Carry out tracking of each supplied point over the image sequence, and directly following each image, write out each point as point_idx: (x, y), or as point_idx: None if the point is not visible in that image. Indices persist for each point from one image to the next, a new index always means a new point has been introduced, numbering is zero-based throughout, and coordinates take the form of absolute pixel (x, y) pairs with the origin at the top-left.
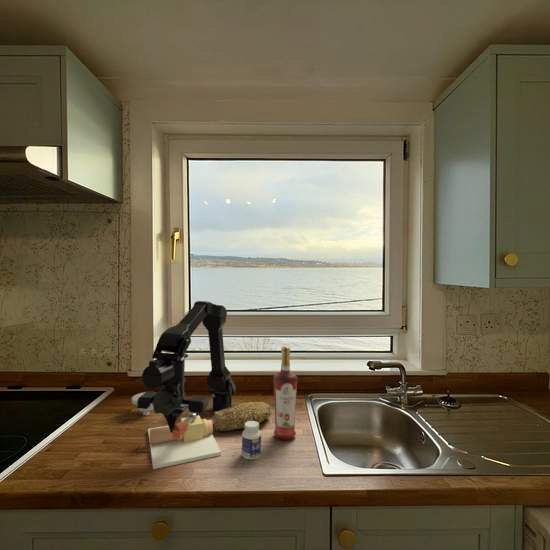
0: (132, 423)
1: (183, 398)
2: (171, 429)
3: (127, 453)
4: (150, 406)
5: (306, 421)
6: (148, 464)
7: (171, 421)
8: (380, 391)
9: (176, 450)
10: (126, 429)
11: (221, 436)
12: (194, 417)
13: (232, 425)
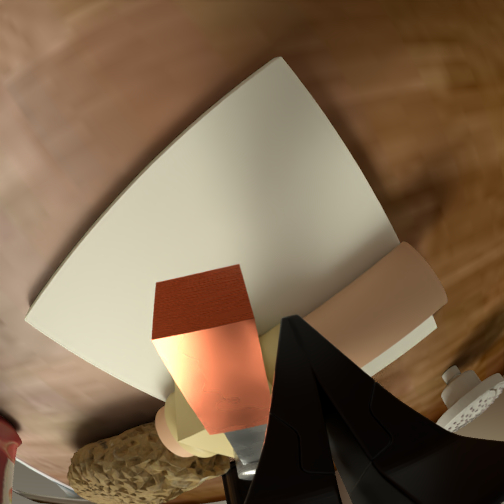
0: (475, 326)
1: None
2: (299, 336)
3: (459, 167)
4: (452, 395)
5: (25, 460)
6: (331, 97)
7: (328, 407)
8: (32, 500)
9: (236, 252)
10: (486, 296)
11: (138, 401)
12: (237, 459)
13: (116, 445)
